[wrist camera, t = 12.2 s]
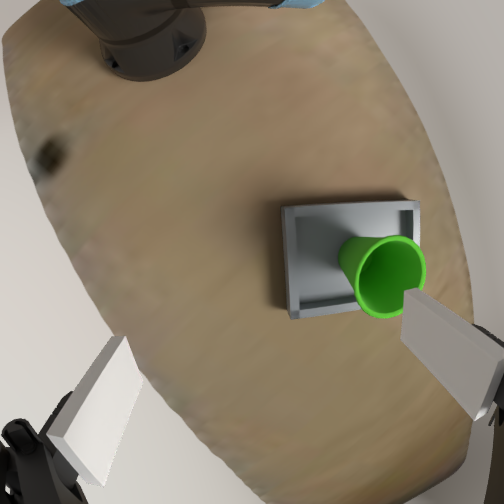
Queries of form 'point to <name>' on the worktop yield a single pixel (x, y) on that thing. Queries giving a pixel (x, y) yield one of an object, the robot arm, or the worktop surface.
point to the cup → (382, 271)
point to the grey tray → (334, 248)
